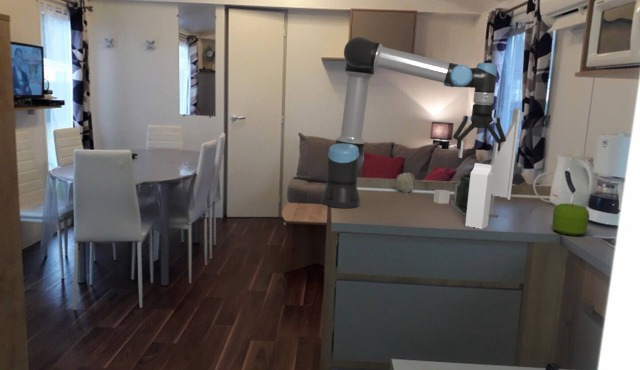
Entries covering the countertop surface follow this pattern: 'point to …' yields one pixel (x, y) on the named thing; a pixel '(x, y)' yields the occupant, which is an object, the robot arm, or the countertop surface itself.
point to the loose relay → (441, 196)
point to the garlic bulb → (405, 182)
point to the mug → (464, 190)
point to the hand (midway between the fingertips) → (477, 158)
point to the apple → (570, 219)
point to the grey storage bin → (464, 209)
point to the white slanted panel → (506, 160)
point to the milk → (479, 196)
